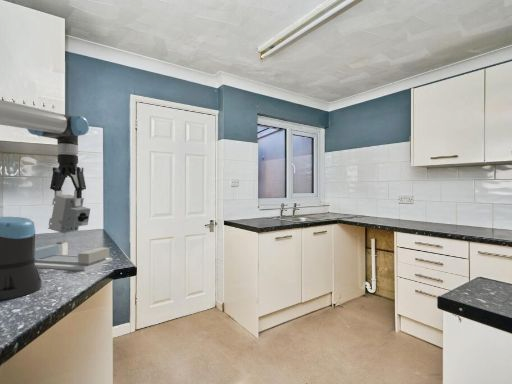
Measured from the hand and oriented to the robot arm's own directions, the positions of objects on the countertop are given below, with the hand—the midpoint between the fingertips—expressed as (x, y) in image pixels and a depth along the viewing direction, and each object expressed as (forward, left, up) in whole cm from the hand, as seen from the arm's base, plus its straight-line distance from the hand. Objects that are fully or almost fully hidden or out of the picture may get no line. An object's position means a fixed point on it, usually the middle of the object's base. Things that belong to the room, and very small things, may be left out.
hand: (68, 205), depth 122 cm
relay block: (+12, +16, -26) cm, 33 cm away
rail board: (0, 0, -26) cm, 26 cm away
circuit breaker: (0, 0, -11) cm, 11 cm away
